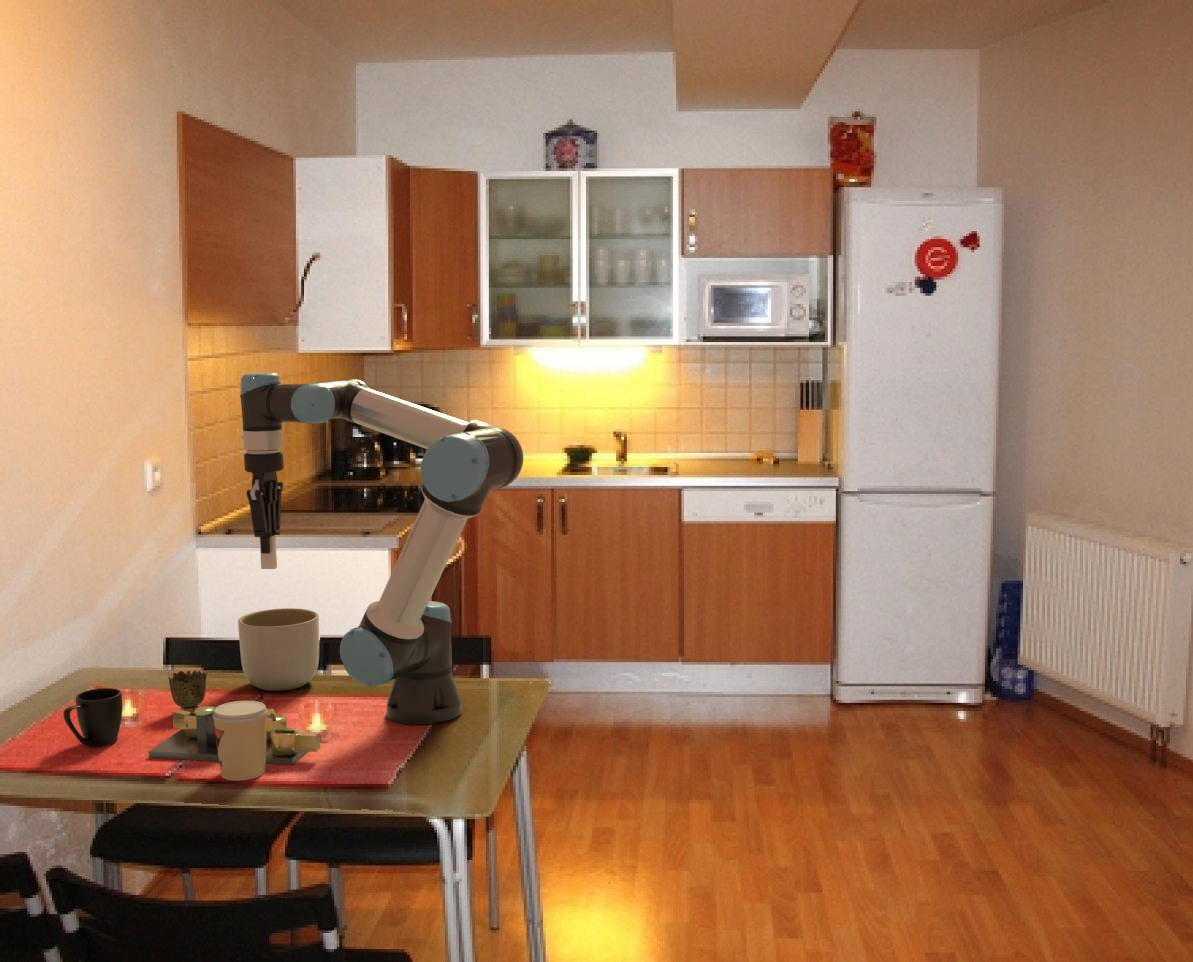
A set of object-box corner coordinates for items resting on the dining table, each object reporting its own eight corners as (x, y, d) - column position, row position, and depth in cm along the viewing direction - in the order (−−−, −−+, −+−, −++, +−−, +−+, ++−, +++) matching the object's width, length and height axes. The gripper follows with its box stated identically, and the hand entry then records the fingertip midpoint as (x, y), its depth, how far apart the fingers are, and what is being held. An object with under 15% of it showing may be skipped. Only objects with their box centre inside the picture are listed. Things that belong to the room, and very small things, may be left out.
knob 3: (267, 754, 239) (266, 733, 238) (278, 745, 244) (277, 725, 243) (313, 756, 237) (312, 736, 237) (323, 747, 242) (322, 727, 242)
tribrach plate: (321, 739, 251) (319, 698, 250) (292, 764, 238) (290, 722, 237) (184, 732, 256) (182, 693, 255) (149, 757, 242) (146, 715, 241)
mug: (52, 751, 246) (49, 702, 245) (104, 732, 257) (101, 685, 255) (82, 758, 242) (78, 708, 241) (133, 739, 253) (130, 691, 251)
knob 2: (289, 738, 248) (288, 718, 247) (262, 741, 246) (261, 721, 245) (281, 724, 256) (281, 704, 255) (255, 727, 254) (254, 708, 253)
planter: (299, 669, 299) (296, 604, 297) (335, 686, 286) (332, 618, 284) (228, 683, 288) (225, 616, 286) (261, 701, 275) (258, 631, 273)
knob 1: (218, 731, 252) (217, 712, 251) (197, 739, 248) (195, 719, 247) (187, 724, 257) (186, 704, 256) (166, 731, 252) (165, 711, 252)
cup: (197, 719, 264) (195, 680, 263) (163, 717, 266) (161, 679, 265) (215, 707, 271) (213, 670, 270) (182, 706, 273) (180, 668, 272)
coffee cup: (221, 764, 238) (218, 700, 237) (274, 762, 239) (271, 699, 237) (210, 783, 229) (207, 716, 227) (265, 781, 230) (262, 715, 228)
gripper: (258, 447, 266) (264, 561, 270) (231, 455, 254) (237, 574, 257) (293, 447, 265) (299, 562, 269) (268, 455, 253) (274, 575, 256)
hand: (269, 568), depth 263 cm, fingers closed
